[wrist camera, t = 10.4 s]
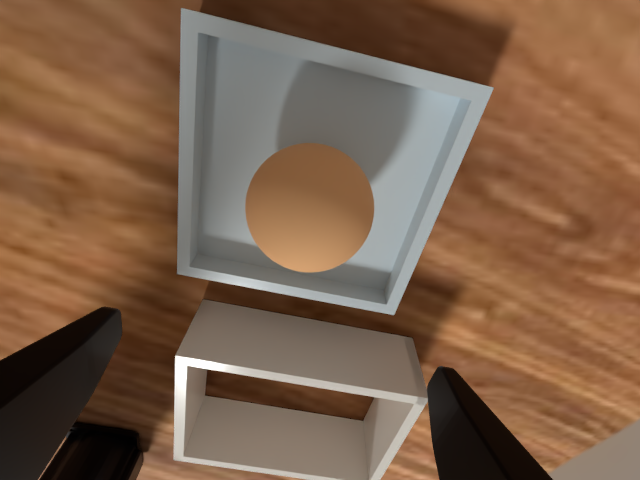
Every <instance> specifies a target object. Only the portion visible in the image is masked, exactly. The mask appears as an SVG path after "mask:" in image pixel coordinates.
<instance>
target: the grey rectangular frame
mask: <svg viewBox="0 0 640 480" xmlns="http://www.w3.org/2000/svg"><path fill="white" fill-rule="evenodd" d="M207 369H210V370H216V371H222V372H228V373H234V374H239V375H245V376H251V377H257V378H263V379H269V380H275V381H281V382H287V383H293V384H299V385H305V386H311V387H317V388H323V389H329V390H335V391H341V392H347V393H353V394H359V395H365V396H371V397H374V399H373V401H372V403H371V405H370V407H369V410H368V412H367V414H366V416H365V418H364V420H363V421H360V420H354V419H348V418H342V417H335V416H329V415H323V414H317V413H311V412H304V411H298V410H292V409H286V408H280V407H273V406H267V405H261V404H255V403H249V402H242V401H236V400H230V399H224V398H217V397H211V396H205V390H206V378H207ZM427 402H428V396H427V389H426V385H425V382H424V378H423V374H422V371H421V367H420V363H419V360H418V356H417V352H416V349H415V345H414V342H413V338H410V337H405V336H399V335H394V334H389V333H383V332H378V331H372V330H367V329H362V328H356V327H351V326H345V325H340V324H335V323H329V322H324V321H318V320H313V319H307V318H302V317H297V316H291V315H286V314H280V313H275V312H270V311H264V310H259V309H253V308H248V307H243V306H237V305H232V304H226V303H221V302H216V301H210V300H205V299H203V300H202V302H201V304H200V306H199V308H198V310H197V312H196V314H195V316H194V318H193V320H192V322H191V324H190V326H189V328H188V330H187V333H186V335H185V337H184V339H183V341H182V343H181V345H180V347H179V349H178V351H177V353H176V355H175V401H174V460H176V461H183V462H190V463H197V464H204V465H211V466H218V467H225V468H232V469H239V470H246V471H252V472H259V473H266V474H273V475H280V476H287V477H294V478H301V479H308V480H380V479H381V478H382V476H383V474H384V473H385V471H386V469H387V468H388V466H389V464H390V463H391V461H392V459H393V458H394V456H395V454H396V453H397V451H398V449H399V448H400V446H401V444H402V443H403V441H404V440H405V438H406V436H407V435H408V433H409V431H410V430H411V428H412V426H413V425H414V423H415V421H416V420H417V418H418V416H419V415H420V413H421V411H422V410H423V408H424V407H425V405H426V403H427Z"/></svg>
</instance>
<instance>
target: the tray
mask: <svg viewBox="0 0 640 480" xmlns="http://www.w3.org/2000/svg"><path fill="white" fill-rule="evenodd" d="M493 89H494V88H493V87H489V86H486V85H482V84H479V83H475V82H472V81H468V80H464V79H460V78H456V77H452V76H448V75H444V74H440V73H436V72H432V71H429V70H425V69H421V68H417V67H413V66H409V65H405V64H401V63H397V62H393V61H389V60H386V59H382V58H378V57H374V56H370V55H366V54H362V53H358V52H354V51H350V50H346V49H343V48H339V47H335V46H331V45H327V44H323V43H319V42H315V41H311V40H307V39H303V38H300V37H296V36H292V35H288V34H284V33H280V32H276V31H272V30H268V29H264V28H260V27H256V26H253V25H249V24H245V23H241V22H237V21H233V20H229V19H225V18H221V17H217V16H213V15H210V14H206V13H202V12H198V11H193V10H188V9H184V8H181V43H180V110H179V176H178V243H177V274H179V275H185V276H190V277H195V278H201V279H206V280H211V281H216V282H222V283H227V284H232V285H237V286H243V287H248V288H253V289H258V290H264V291H269V292H274V293H280V294H285V295H290V296H295V297H301V298H306V299H311V300H316V301H322V302H327V303H332V304H337V305H343V306H348V307H353V308H359V309H364V310H369V311H374V312H380V313H385V314H390V315H394V314H395V312H396V310H397V307H398V305H399V303H400V301H401V298H402V296H403V294H404V291H405V289H406V287H407V285H408V282H409V280H410V278H411V275H412V273H413V271H414V269H415V266H416V264H417V262H418V260H419V257H420V255H421V253H422V250H423V248H424V246H425V244H426V241H427V239H428V237H429V234H430V232H431V230H432V228H433V225H434V223H435V221H436V218H437V216H438V214H439V212H440V209H441V207H442V205H443V203H444V200H445V198H446V196H447V193H448V191H449V189H450V187H451V184H452V182H453V180H454V177H455V175H456V173H457V171H458V168H459V166H460V164H461V162H462V159H463V157H464V155H465V152H466V150H467V148H468V146H469V143H470V141H471V139H472V136H473V134H474V132H475V130H476V127H477V125H478V123H479V120H480V118H481V116H482V114H483V111H484V109H485V107H486V105H487V102H488V100H489V98H490V95H491V93H492V91H493ZM301 143H318V144H324V145H328V146H331V147H334V148H336V149H338V150H340V151H342V152H343V153H345V154H346V155H348V156H349V157H350V158H352V159H353V160H354V161H355V162H356V163H357V164H358V165H359V166H360V168H361V169H362V170H363V172H364V173H365V175H366V177H367V179H368V181H369V183H370V186H371V189H372V192H373V198H374V218H373V223H372V227H371V230H370V232H369V235H368V237H367V239H366V240H365V242H364V244H363V245H362V247H361V248H360V249H359V250H358V251H357V252H356V253H355V254H354V255H353V256H352V257H351V258H350V259H349V260H347V261H346V262H344V263H343V264H341V265H339V266H337V267H335V268H332V269H329V270H326V271H321V272H312V273H310V272H298V271H294V270H291V269H288V268H285V267H283V266H281V265H279V264H277V263H276V262H274V261H272V260H271V259H270V258H269V257H267V256H266V255H265V254H264V253H263V252H262V251H261V249H260V248H259V247H258V245H257V244H256V243H255V241H254V239H253V237H252V236H251V233H250V231H249V228H248V224H247V220H246V213H245V203H246V195H247V191H248V188H249V185H250V182H251V180H252V178H253V176H254V174H255V173H256V171H257V170H258V168H259V167H260V166H261V165H262V164H263V163H264V161H265V160H266V159H268V158H269V157H270V156H271V155H273V154H274V153H276V152H278V151H280V150H281V149H284V148H286V147H289V146H292V145H296V144H301Z"/></svg>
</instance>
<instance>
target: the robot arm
mask: <svg viewBox="0 0 640 480" xmlns="http://www.w3.org/2000/svg"><path fill="white" fill-rule="evenodd" d="M121 336H122V322H121V312H120V310H119V309H116V308H110V307H101V308H99V309H97V310H95V311H93V312H91V313H89V314H87V315H86V316H84V317H82V318H80V319H78V320H76V321H74V322H72V323H70V324H68V325H67V326H65V327H63V328H61V329H59V330H57V331H55V332H53V333H51V334H49V335H48V336H46V337H44V338H42V339H40V340H38V341H36V342H34V343H32V344H31V345H29V346H27V347H25V348H23V349H21V350H19V351H17V352H15V353H13V354H12V355H10V356H8V357H6V358H4V359H2V360H0V480H38V479H39V477H40V475H41V474H42V472H43V471H44V469H45V468H46V466H47V464H48V463H49V461H50V460H51V458H52V457H53V455H54V454H55V452H56V450H57V449H58V447H59V446H60V444H61V443H62V441H63V440H64V438H65V436H66V438H67V439H66V440H65V442H64V443H63V445H62V446H61V448H60V449H59V451H58V452H57V454H56V455H55V457H54V458H53V460H52V461H51V463H50V464H49V466H48V467H47V469H46V470H45V472H44V473H43V475H42V476H41V478H40V479H39V480H136V478H137V476H138V474H139V472H140V469H141V467H142V465H143V464H142V452H141V450H140V443H139V434H138V433H136V432H133V431H127V430H120V429H113V428H107V427H100V426H93V425H87V424H80V423H74V422H75V421H76V419H77V418H78V416H79V415H80V413H81V411H82V410H83V408H84V407H85V405H86V404H87V402H88V400H89V399H90V397H91V396H92V394H93V392H94V390H95V388H96V387H97V385H98V383H99V381H100V379H101V377H102V375H103V373H104V371H105V369H106V367H107V365H108V363H109V361H110V359H111V357H112V355H113V353H114V351H115V349H116V347H117V345H118V343H119V341H120V339H121ZM427 396H428V406H429V416H430V426H431V436H432V444H433V450H434V455H435V460H436V465H437V470H438V475H439V480H553V479H552V478H551V477H550V476H549V475H548V474H547V472H546V471H545V470H544V469H543V468H542V467H541V466H540V465H539V463H538V462H537V461H536V460H535V459H534V458H533V457H532V456H531V455H530V453H529V452H528V451H527V450H526V449H525V448H524V447H523V446H522V444H521V443H520V442H519V441H518V440H517V439H516V438H515V437H514V435H513V434H512V433H511V432H510V431H509V430H508V429H507V428H506V427H505V425H504V424H503V423H502V422H501V421H500V420H499V419H498V418H497V416H496V415H495V414H494V413H493V412H492V411H491V410H490V409H489V407H488V406H487V405H486V404H485V403H484V402H483V401H482V400H481V399H480V397H479V396H478V395H477V394H476V393H475V392H474V391H473V390H472V388H471V387H470V386H469V385H468V384H467V383H466V382H465V381H464V379H463V378H462V377H461V376H460V375H459V374H458V373H457V372H456V371H455V370H454V369H453V368H449V367H443V366H439V367H438V368H437V369H436V371H435V373H434V374H433V376H432V378H431V380H430V381H429V383H428V387H427Z"/></svg>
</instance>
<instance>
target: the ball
mask: <svg viewBox="0 0 640 480" xmlns="http://www.w3.org/2000/svg"><path fill="white" fill-rule="evenodd" d="M245 213H246V220H247V224H248V228H249V231H250V233H251V236H252V237H253V239H254V241H255V243H256V244H257V245H258V247H259V248H260V249H261V251H262V252H263V253H264V254H265V255H266V256H267V257H269V258H270V259H271V260H272V261H274V262H276V263H277V264H279V265H281V266H283V267H285V268H288V269H291V270H294V271H298V272H310V273H312V272H321V271H326V270H329V269H332V268H335V267H337V266H339V265H341V264H343V263H344V262H346V261H347V260H349V259H350V258H351V257H352V256H353V255H354V254H355V253H356V252H357V251H358V250H359V249H360V248H361V247H362V245H363V244H364V242H365V240H366V239H367V237H368V235H369V232H370V230H371V227H372V223H373V218H374V198H373V192H372V189H371V186H370V183H369V181H368V179H367V177H366V175H365V173H364V172H363V170H362V169H361V168H360V166H359V165H358V164H357V163H356V162H355V161H354V160H353V159H352V158H350V157H349V156H348V155H346V154H345V153H343V152H342V151H340V150H338V149H336V148H334V147H331V146H328V145H324V144H318V143H301V144H296V145H292V146H289V147H286V148H284V149H281V150H280V151H278V152H276V153H274V154H273V155H271V156H270V157H269V158H268V159H266V160H265V161H264V163H263V164H262V165H261V166H260V167H259V168H258V170H257V171H256V173H255V174H254V176H253V178H252V180H251V182H250V185H249V188H248V191H247V195H246V203H245Z"/></svg>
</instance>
